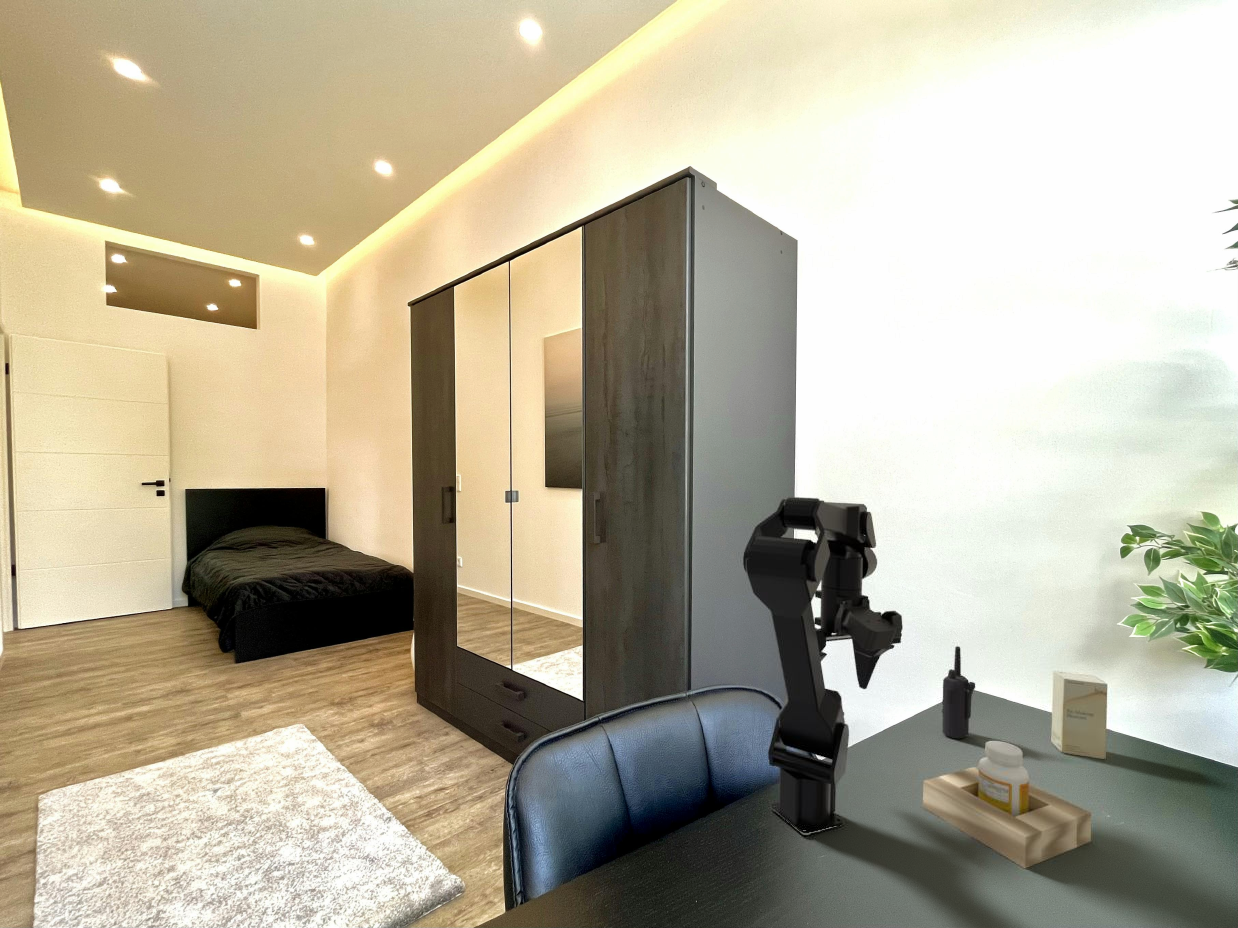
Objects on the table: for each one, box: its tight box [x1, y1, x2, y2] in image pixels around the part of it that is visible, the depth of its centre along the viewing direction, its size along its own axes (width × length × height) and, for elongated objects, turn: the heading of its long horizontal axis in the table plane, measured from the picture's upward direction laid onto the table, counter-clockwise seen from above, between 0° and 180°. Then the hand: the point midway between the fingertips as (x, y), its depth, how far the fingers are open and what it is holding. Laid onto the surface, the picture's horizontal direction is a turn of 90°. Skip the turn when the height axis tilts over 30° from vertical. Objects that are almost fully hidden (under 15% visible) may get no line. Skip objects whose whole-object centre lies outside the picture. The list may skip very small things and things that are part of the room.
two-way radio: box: [941, 646, 976, 740], centre depth 100 cm, size 6×4×15 cm
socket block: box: [922, 765, 1092, 869], centre depth 74 cm, size 13×13×4 cm
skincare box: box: [1050, 670, 1108, 760], centre depth 96 cm, size 6×4×12 cm
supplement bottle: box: [978, 740, 1030, 817], centre depth 75 cm, size 5×5×10 cm
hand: (839, 691), depth 86 cm, fingers open, 9 cm apart
